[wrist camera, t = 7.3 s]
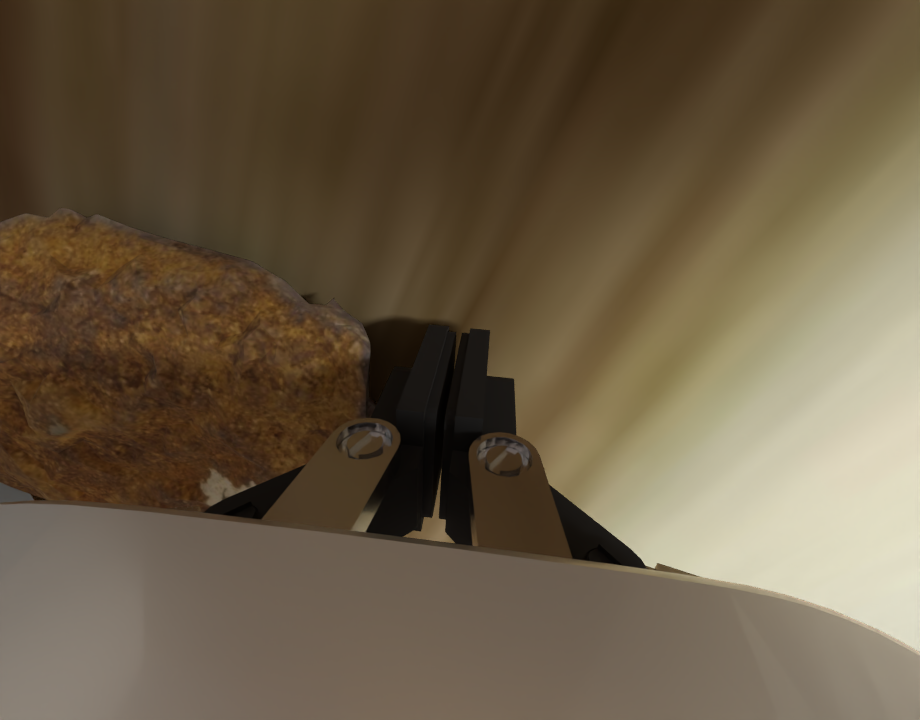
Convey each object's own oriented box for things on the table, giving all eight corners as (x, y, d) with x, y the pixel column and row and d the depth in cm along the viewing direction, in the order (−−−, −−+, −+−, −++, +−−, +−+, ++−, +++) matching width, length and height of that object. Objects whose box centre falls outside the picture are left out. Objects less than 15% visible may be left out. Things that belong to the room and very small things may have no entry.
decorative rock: (35, 451, 17) (390, 513, 18) (-82, 542, 14) (365, 615, 14) (-134, 150, 11) (425, 261, 11) (-429, 175, 7) (396, 333, 8)
